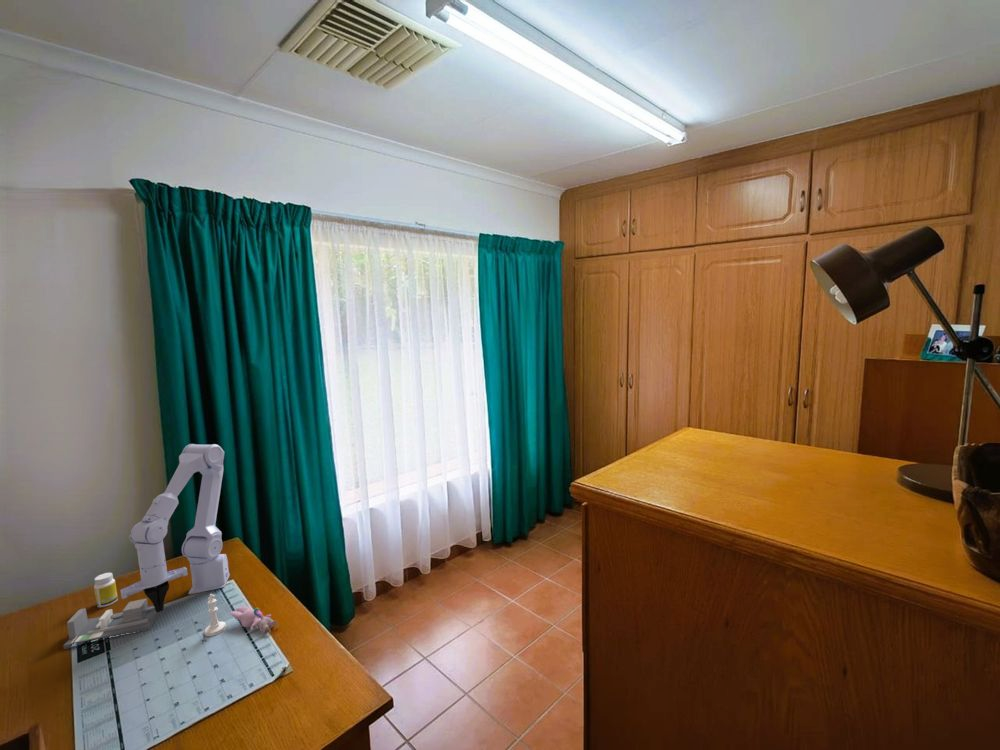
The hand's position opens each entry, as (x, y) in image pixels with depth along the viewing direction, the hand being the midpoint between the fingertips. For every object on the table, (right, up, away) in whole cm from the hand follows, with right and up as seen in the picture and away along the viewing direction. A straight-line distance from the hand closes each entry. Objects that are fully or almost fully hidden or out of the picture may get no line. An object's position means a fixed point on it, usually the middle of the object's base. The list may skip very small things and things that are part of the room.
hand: (159, 610), depth 125 cm
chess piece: (+20, -2, -6) cm, 21 cm away
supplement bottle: (-22, -2, +8) cm, 23 cm away
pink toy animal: (+29, -2, -5) cm, 30 cm away
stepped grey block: (-7, -1, -2) cm, 7 cm away
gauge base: (-9, -3, -3) cm, 10 cm away
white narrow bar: (-11, -2, -5) cm, 12 cm away
